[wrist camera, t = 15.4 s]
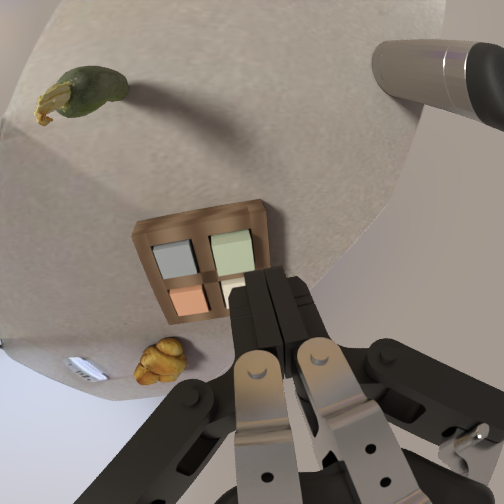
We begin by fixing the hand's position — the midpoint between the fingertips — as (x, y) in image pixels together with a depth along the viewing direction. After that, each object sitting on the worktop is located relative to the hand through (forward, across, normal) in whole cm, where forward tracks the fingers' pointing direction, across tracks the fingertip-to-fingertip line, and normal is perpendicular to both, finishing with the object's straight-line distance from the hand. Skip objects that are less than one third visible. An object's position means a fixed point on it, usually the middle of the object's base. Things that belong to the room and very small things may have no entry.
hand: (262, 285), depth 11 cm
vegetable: (+27, +11, -10) cm, 31 cm away
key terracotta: (+25, +9, +22) cm, 35 cm away
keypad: (+27, +5, +18) cm, 33 cm away
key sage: (+24, +1, +14) cm, 28 cm away
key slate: (+25, +9, +14) cm, 30 cm away
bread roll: (+27, +20, +40) cm, 52 cm away
